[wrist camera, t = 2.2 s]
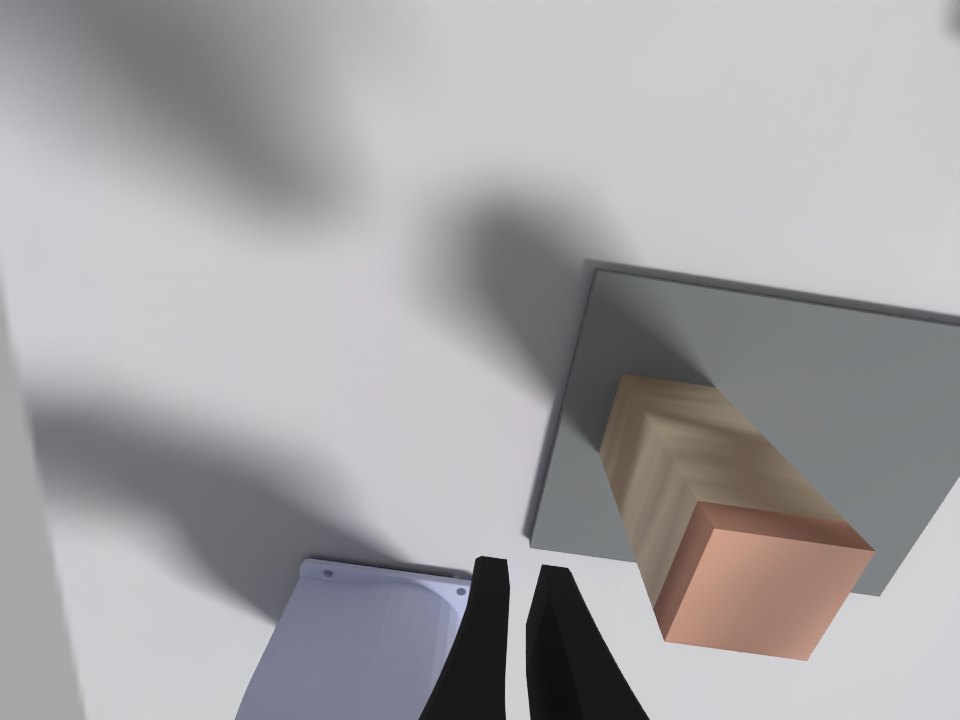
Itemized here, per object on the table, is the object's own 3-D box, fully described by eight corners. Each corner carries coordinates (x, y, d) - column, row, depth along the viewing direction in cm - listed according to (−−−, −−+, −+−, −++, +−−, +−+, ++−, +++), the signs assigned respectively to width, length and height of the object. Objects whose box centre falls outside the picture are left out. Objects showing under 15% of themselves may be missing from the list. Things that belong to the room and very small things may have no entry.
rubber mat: (529, 540, 24) (529, 547, 23) (595, 268, 18) (598, 271, 18) (872, 588, 24) (879, 596, 24) (1036, 336, 19) (1049, 341, 18)
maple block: (598, 453, 21) (664, 641, 13) (622, 373, 20) (714, 528, 11) (685, 465, 21) (806, 661, 13) (716, 387, 20) (875, 551, 11)
